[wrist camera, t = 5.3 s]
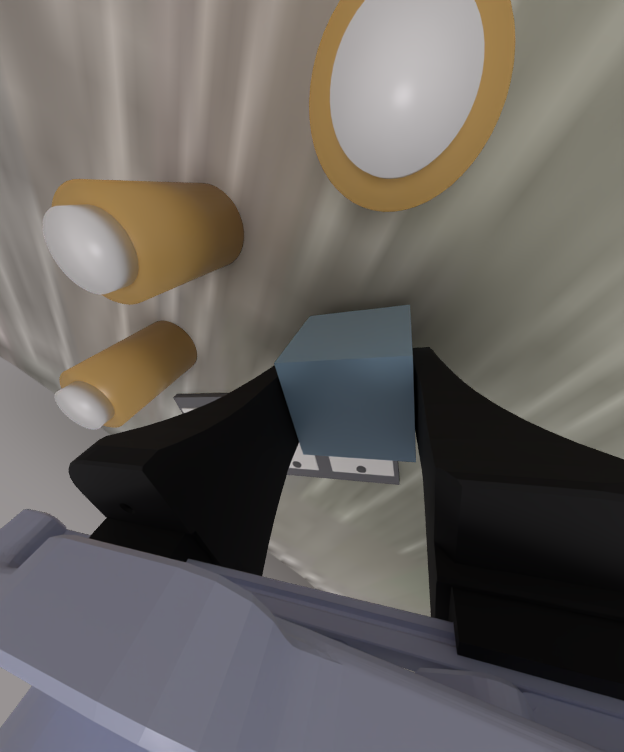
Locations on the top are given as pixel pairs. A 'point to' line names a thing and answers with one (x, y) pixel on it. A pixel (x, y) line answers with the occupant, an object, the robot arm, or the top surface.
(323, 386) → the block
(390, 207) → the bottle
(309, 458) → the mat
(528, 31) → the top surface
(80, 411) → the bottle
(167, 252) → the bottle
